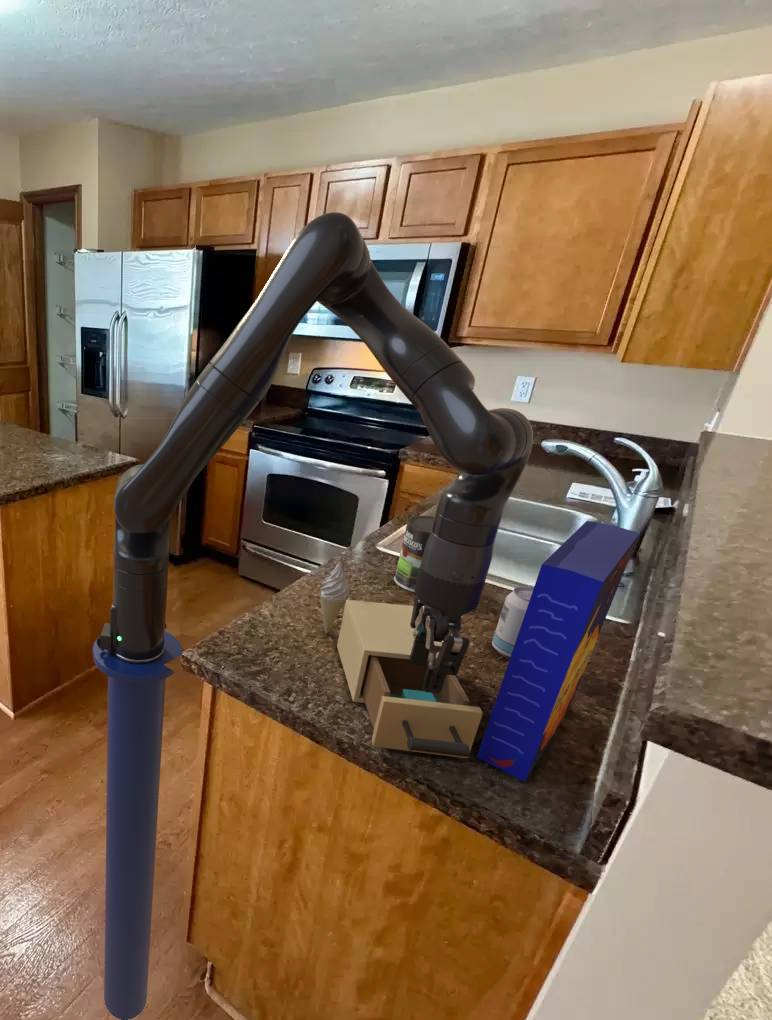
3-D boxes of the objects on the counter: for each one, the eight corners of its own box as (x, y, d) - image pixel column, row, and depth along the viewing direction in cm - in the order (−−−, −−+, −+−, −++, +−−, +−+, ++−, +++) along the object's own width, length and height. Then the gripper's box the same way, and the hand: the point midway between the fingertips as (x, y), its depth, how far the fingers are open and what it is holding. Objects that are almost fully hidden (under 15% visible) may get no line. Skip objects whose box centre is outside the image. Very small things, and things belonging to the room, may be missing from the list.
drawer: (482, 786, 76) (498, 739, 73) (381, 773, 78) (393, 726, 75) (434, 691, 94) (446, 650, 91) (353, 682, 96) (362, 641, 93)
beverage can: (530, 670, 102) (552, 608, 97) (485, 653, 106) (504, 594, 101) (538, 653, 106) (560, 594, 101) (495, 638, 110) (514, 580, 106)
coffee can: (409, 596, 125) (424, 534, 119) (384, 574, 134) (397, 515, 128) (455, 594, 126) (472, 533, 120) (427, 572, 135) (442, 514, 129)
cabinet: (445, 712, 91) (461, 660, 87) (353, 701, 93) (364, 650, 89) (416, 654, 105) (429, 607, 101) (336, 646, 107) (346, 599, 103)
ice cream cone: (346, 635, 110) (361, 562, 104) (328, 643, 108) (342, 569, 102) (324, 622, 114) (337, 551, 108) (306, 630, 111) (319, 558, 105)
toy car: (442, 735, 83) (450, 712, 82) (390, 729, 84) (397, 706, 82) (432, 713, 87) (440, 691, 85) (383, 707, 88) (389, 685, 86)
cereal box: (525, 782, 78) (603, 579, 66) (476, 757, 82) (542, 562, 70) (568, 709, 92) (640, 531, 80) (525, 691, 96) (587, 518, 84)
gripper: (509, 598, 69) (471, 714, 76) (464, 547, 82) (436, 650, 89) (440, 591, 70) (409, 706, 77) (407, 542, 83) (383, 645, 90)
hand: (424, 676), depth 83 cm, fingers open, 6 cm apart
